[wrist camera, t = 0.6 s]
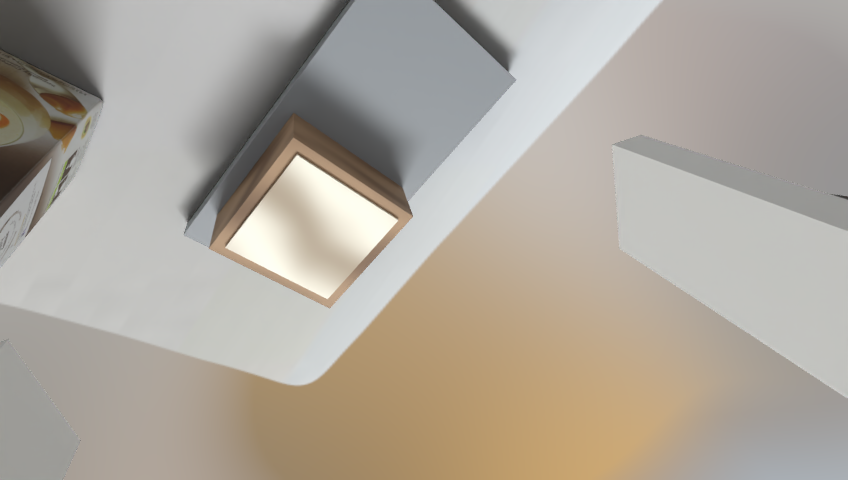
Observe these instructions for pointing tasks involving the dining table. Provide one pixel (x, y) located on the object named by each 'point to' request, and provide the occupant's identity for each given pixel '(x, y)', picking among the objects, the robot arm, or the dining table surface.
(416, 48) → the build plate
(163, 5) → the dining table surface
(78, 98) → the coffee box
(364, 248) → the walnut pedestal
